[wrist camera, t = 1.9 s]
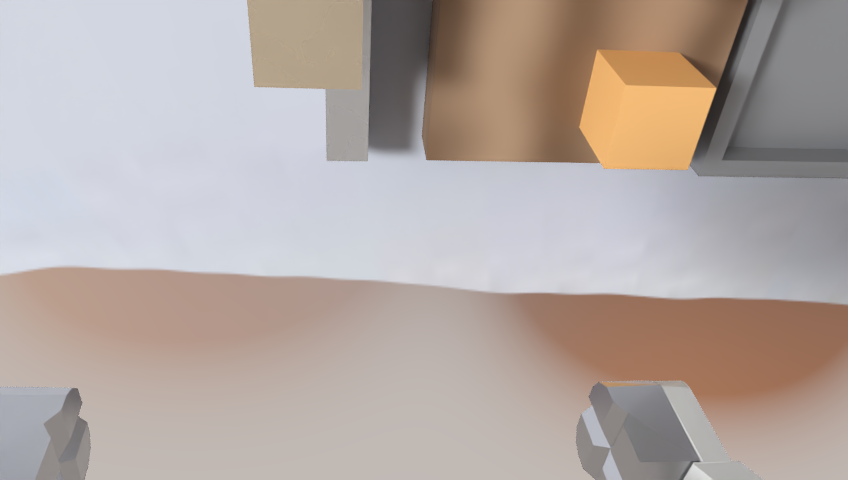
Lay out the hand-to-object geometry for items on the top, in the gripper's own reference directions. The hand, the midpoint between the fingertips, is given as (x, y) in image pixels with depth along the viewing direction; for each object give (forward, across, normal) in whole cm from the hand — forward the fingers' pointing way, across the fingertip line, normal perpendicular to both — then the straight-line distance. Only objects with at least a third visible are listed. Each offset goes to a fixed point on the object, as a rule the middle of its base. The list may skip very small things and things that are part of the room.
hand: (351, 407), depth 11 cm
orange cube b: (+22, -14, +4) cm, 26 cm away
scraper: (+25, +1, 0) cm, 25 cm away
